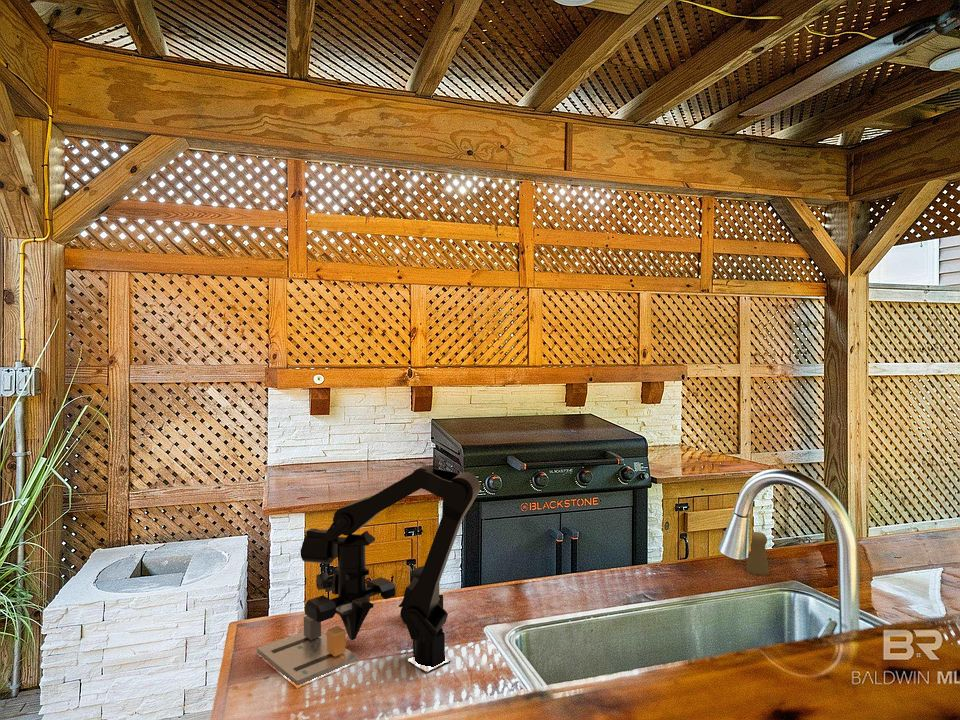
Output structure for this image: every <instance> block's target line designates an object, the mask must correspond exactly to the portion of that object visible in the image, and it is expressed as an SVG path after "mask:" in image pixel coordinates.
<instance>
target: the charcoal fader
mask: <svg viewBox="0 0 960 720" xmlns="http://www.w3.org/2000/svg"><path fill="white" fill-rule="evenodd" d="M303 631H304V636H305V637H307V638H308V639H310V640H312V639H315V638H318V637H320V636H321V632H322V622H316V621H315V620H313V619H312V618H310V617H309V616H307V615H305V616H303Z"/></svg>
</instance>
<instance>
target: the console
mask: <svg viewBox="0 0 960 720" xmlns="http://www.w3.org/2000/svg"><path fill="white" fill-rule="evenodd" d="M257 653H258V654H259V655H261V656H262V657H263V658H264V659H265V660H267V661H268V662H269V663H270V664H271V665H272V666H274V667H275V668H276V669H277V670H278V671H280V672H281V673H282V674H283V675H285V676H286V677H287V678H289V679H290V680H291V681H292V682H294V683H295V684H296V685H300V684H303V683H305V682H307V681H310V680H312V679H314V678H316V677H319V676H321V675H324V674H326V673H329V672H331V671H333V670H335V669H338V668H340V667H342V666H345V665H348V664H350V663H353V662H355V661H357V660H358V655H357V654H355V653H354V652H352V651H351V650H350V649H347V648H346V647H345V653H342V654H340V655H337V656H335V657H334V656H333V655H331V654H330V653H329V652H327V634H325V633H323V632H322V631H321V636H320V637H318V638H315V639H312V640H310V639H308V638H307V637H305V636H304V630H303V631H300V632H298V633H295V634H293V635H289V636H287V637H284V638H282V639H278V640H275V641H272V642H270V643H267V644H264V645H261V646H258V647H257V648H256V654H257ZM358 661H359V660H358Z"/></svg>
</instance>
